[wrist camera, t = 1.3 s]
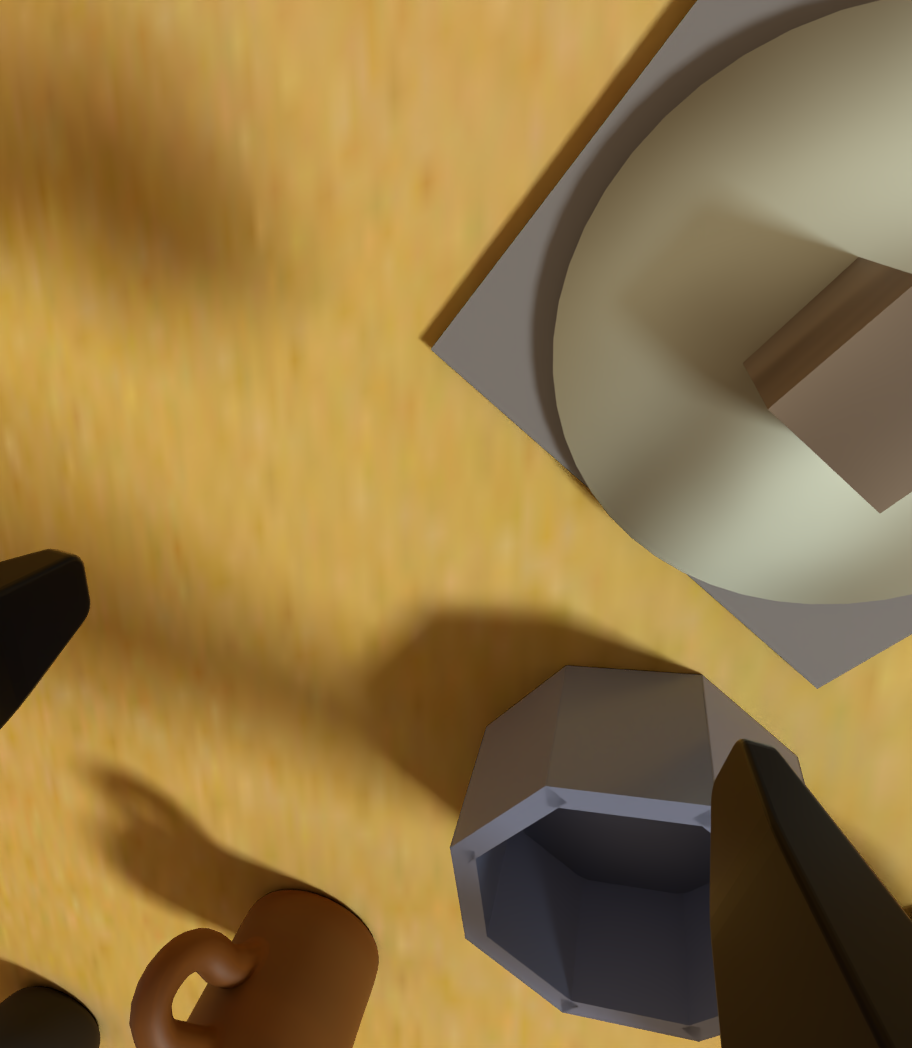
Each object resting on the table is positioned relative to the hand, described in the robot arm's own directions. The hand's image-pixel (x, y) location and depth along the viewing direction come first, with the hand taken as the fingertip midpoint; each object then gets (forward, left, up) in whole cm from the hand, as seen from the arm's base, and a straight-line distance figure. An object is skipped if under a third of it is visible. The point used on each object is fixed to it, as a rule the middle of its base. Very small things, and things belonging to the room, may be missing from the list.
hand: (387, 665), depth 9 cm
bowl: (-13, +9, -13) cm, 20 cm away
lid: (-5, -6, -12) cm, 14 cm away
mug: (-9, +29, -13) cm, 33 cm away
